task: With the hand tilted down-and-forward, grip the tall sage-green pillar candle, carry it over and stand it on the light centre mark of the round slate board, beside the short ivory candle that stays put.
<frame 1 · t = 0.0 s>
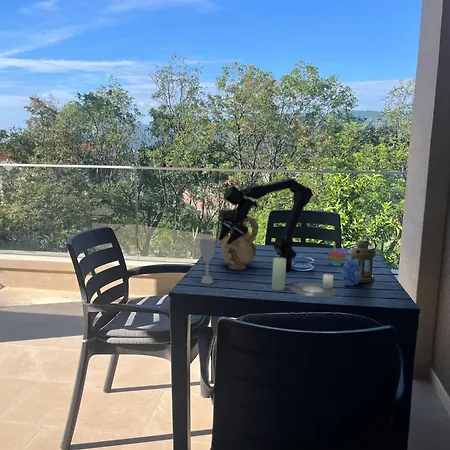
hand: (223, 241, 196), 15 cm above the table, tool tilted 35°, fingers open, 9 cm apart
pillar candle: (278, 291, 178), on the table
ceramic vessel: (236, 267, 213), on the table
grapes: (352, 288, 185), on the table
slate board: (313, 292, 178), on the table
cupcake: (336, 265, 221), on the table
ivory candle: (327, 287, 180), point 1 cm above the table, touching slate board
chalice: (207, 282, 189), on the table
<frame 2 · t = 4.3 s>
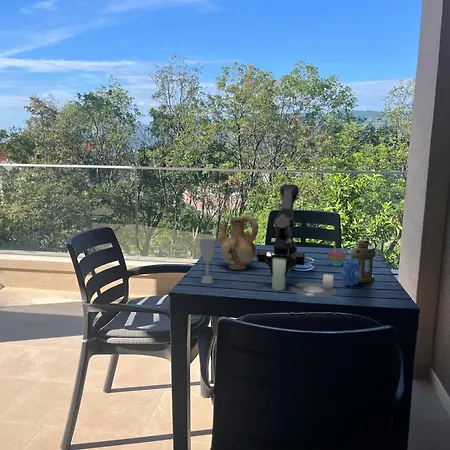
hand: (278, 276, 176), 7 cm above the table, tool tilted 45°, fingers closed on pillar candle, 5 cm apart
pillar candle: (278, 291, 178), on the table, touching gripper
everything else where it was.
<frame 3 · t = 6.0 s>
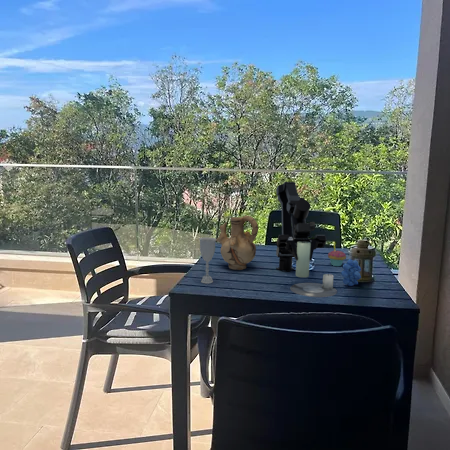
hand: (304, 259, 174), 13 cm above the table, tool tilted 45°, fingers closed on pillar candle, 5 cm apart
pillar candle: (302, 275, 176), point 7 cm above the table, touching gripper
everything else where it was.
when the fingers open (9 cm above the table, at t = 7.6 s): pillar candle drops 1 cm, resting on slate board.
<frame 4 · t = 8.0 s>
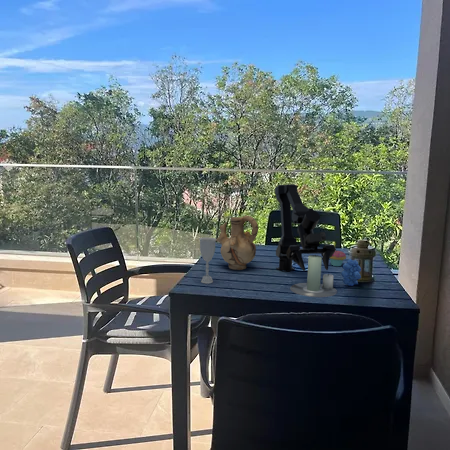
hand: (315, 270, 175), 9 cm above the table, tool tilted 45°, fingers open, 9 cm apart
pillar candle: (313, 289, 178), point 1 cm above the table, touching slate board
everything else where it was.
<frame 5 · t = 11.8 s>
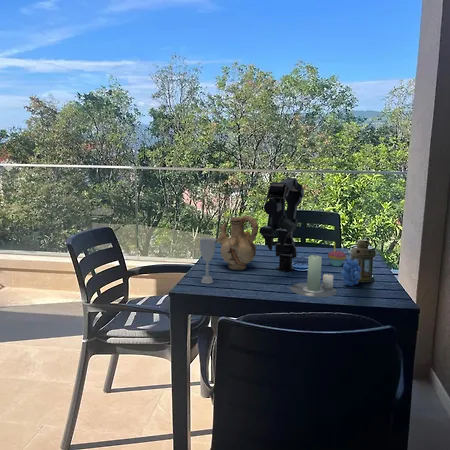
hand: (276, 248, 195), 13 cm above the table, tool pointing down, fingers open, 9 cm apart
nothing on the table moved.
at the end: pillar candle 0.1 cm from the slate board (horizontally); pillar candle tilted 0°; pillar candle point 1.3 cm above the table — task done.
